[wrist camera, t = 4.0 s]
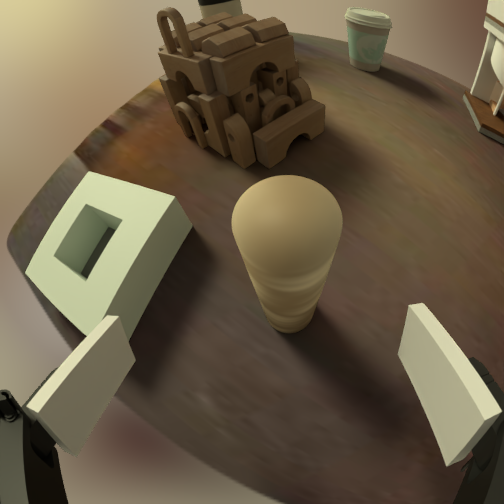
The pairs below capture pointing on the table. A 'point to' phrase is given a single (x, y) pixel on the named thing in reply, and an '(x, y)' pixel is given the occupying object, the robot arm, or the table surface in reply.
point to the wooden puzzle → (237, 85)
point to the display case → (490, 78)
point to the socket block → (108, 251)
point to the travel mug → (220, 7)
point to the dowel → (287, 245)
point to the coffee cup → (367, 37)
